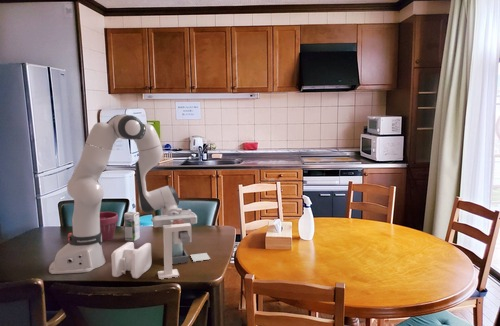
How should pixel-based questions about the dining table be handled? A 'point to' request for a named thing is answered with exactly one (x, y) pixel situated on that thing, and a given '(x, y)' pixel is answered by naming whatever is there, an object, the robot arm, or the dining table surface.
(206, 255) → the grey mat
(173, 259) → the socket collar
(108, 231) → the plant pot
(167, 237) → the stand
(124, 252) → the cable organizer
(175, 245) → the pale blue bottle
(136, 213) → the syrup box
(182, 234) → the bolt
